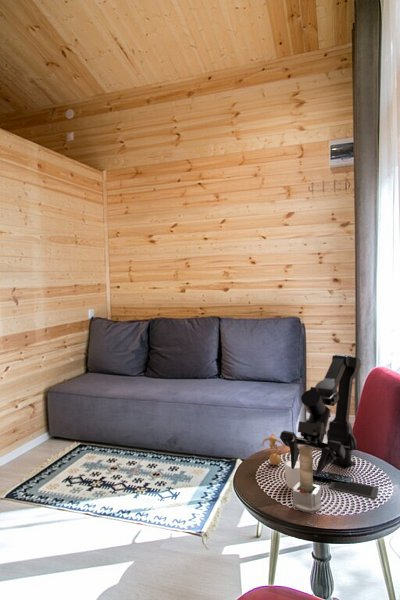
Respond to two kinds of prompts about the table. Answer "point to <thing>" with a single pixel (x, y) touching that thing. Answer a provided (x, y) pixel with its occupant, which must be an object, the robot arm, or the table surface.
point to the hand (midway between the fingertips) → (304, 471)
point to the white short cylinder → (292, 473)
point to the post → (306, 469)
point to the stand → (307, 498)
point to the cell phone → (355, 489)
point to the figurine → (274, 456)
